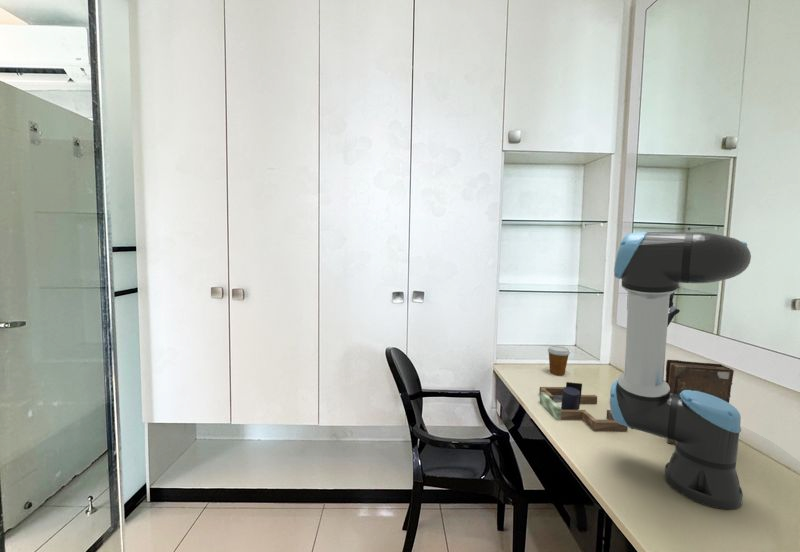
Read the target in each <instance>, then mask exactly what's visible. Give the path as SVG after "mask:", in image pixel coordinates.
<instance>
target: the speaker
mask: <svg viewBox="0 0 800 552" xmlns="http://www.w3.org/2000/svg"><path fill="white" fill-rule="evenodd" d="M563 387H564V388H563V394H562V402H561V407H560V408H561V409H562V410H580V408H581V407H580V406H581V404H580V399H581V395H582V389H583V383H581V382H580V383H579V382H572V381H571V382H570V381H569V382H568V381H566V384H565V386H563Z"/></svg>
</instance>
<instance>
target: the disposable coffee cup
mask: <svg viewBox="0 0 800 552" xmlns="http://www.w3.org/2000/svg"><path fill="white" fill-rule="evenodd" d="M547 352H548V363H549V373H550V374H551V375H553V376H557V377H559V376H560V377H562V376H565V375H564V374H565V373H566V369H567V364H568V359H569V355H570V354H571V353H570V349H569V348H567V347H564V346H559V345H552V346H548V349H547Z"/></svg>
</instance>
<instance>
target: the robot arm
mask: <svg viewBox="0 0 800 552" xmlns="http://www.w3.org/2000/svg"><path fill="white" fill-rule="evenodd" d="M620 241H621V242H620V244H619V246H618V250H617V253H616V257H615V262H614V268H613V272H614V274H613V276H614V277H615V278H616V279H619V280H621V287H622V288H623V289H624V290H625V291H626V292H627V310H626V311H627V315H626V336H625V337H626V338H625V355H624V356H625V357H624V373H622V374H620V375H619V376H618V378H617V380H614V381H612V383H611V386H610V391H609V392H610V393H609V394H610V398H609V406H610V407H609V410H611V414H612V417H613V419H614V420H615V421H616V422H617V423H618V424H621V425H624V426H627V427H628V428H629V429H630V430H635V431H640V432H643V433H647V434H650V435H654V436H657V437H661V438H664V439H666V440H667V439H670V440H673V441H676V444H675V449H674V451H673V453H672V454H671V456H670V459H669V461H668V462H667V463H666V465H665V467H664V475H663V478H664V480H665V481H666V483H667V485H669V486H670V487H671V488H672V489H673V490H674V491H676V492H677V493H679V494H681V495H682V496H684V497H685V498H688V499H689V500H691V501H694V502H696V503H699V504H702V505H704V506H707V507H711V508H716V509H722V510H735V509H739V508H740V507H741V506H742V504H743V497H744V494H743V490H742V487H741V485H740V480H739V475H738V473H737V469H736V468H737V460H738V459H737V457H738V450H739V449H738V448H739V440H740V439H739V437H740V433H742V428H741V423H742V422H741V421H742V420H741V416H742V415H741V413H740V411H739V410H738V409H737V408H736V407H735V406H734V405H732V404H731V403H730V402H729V403H728V402H726V401H724V400H722V399H720V398H718V397H715V396H712V395H710V394H706V393H703V392H699V391H691V390H683V391H682V392H681V393H680V395H677V394H673V393H670V387H669V385H668V383H667V382H665V381H666V380H664V375H665V366H666V363H665V362H666V350H667V349H666V348H667V335H668V327H669V326H670V324H671V322H672V321H673V319H674V318H675V316H676V315H677V314H679V313H680V309H679V308H676V307H675V306H674V300H673V299H674V297H675V292H677V291H678V290H679V284H680V283H682V284H709V283H715V282H720V281H726V280H729V279H730V280H731V279H732V278H734V277H737V276H739V275H741V274H742V273H743V272H745V270H747V268H748V267H749V265H750V263H751V260H752V259H751V258H752V255H751V251H750V248H749V247H748V244H747V242H746V241H741V240H739V239H737V238H734V237H730V236H727V235H722V234H716V233H709V232H700V231H699V232H696V231H695V232H690V231H688V232H686V231H685V232H676V231H675V232H673V231H671V232H670V231H669V232H668V231H644V232H643V231H641V232H639V231H638V232H630V233H627V234H626V235H624V237H623V238H622V239H621V240H620Z"/></svg>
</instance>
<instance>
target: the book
mask: <svg viewBox="0 0 800 552" xmlns="http://www.w3.org/2000/svg"><path fill="white" fill-rule="evenodd" d="M665 362H666V363H665V380H664V381H665V382H667V383H668V385H669V387H670V393H673V394H677V395H680V393H681V392H682V391H683V390H691V391H699V392H703V393H706V394H710V395H712V396H715V397H718V398H720V399H722V400H724V401H726V402H728V403H729V404H730V398H731V391H732V385H733V380H734V379H733V378H734V373H735V370H734V369H732V368H730V367H728V366H725V365H723V364H720V363H711V362H700V361H699V362H697V361H685V360H678V359H667V360H666V361H665ZM666 440H667V441H666V443H667V444H671V445H676V441H673V440H670V439H667V438H666Z"/></svg>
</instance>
